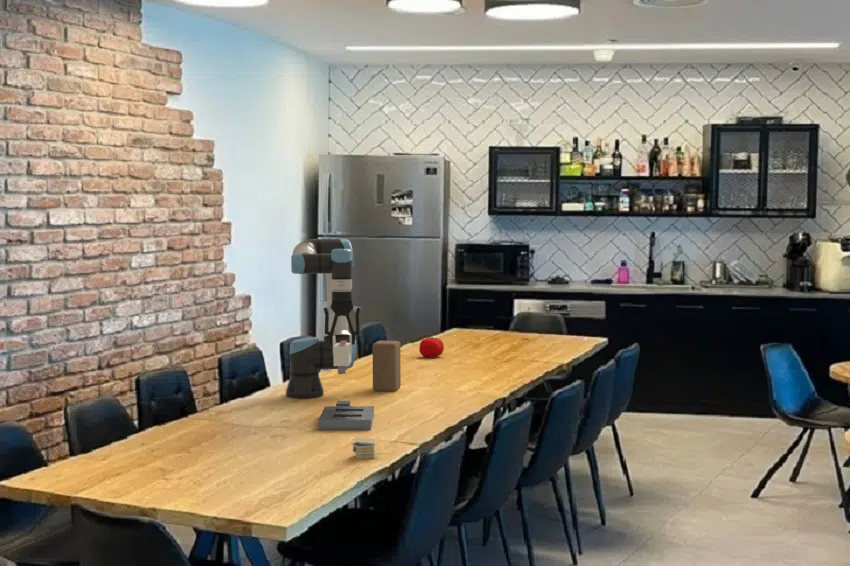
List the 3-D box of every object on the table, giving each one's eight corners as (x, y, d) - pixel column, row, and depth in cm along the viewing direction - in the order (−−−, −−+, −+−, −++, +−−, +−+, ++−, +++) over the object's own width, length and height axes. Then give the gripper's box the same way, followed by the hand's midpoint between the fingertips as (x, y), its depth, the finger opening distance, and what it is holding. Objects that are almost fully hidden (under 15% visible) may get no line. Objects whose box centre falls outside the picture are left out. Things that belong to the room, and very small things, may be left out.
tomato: (416, 356, 529) (416, 336, 528) (440, 355, 533) (440, 335, 532) (423, 359, 518) (422, 339, 517) (447, 358, 522) (447, 338, 521)
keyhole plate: (318, 430, 358) (318, 419, 358) (325, 415, 382) (324, 406, 382) (370, 429, 358) (370, 419, 358) (374, 415, 382) (374, 406, 382)
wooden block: (395, 392, 430) (395, 343, 428) (372, 391, 432) (371, 343, 430) (401, 387, 439) (400, 340, 438) (378, 387, 441) (377, 340, 440)
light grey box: (333, 374, 378) (333, 344, 378) (336, 369, 392) (336, 340, 392) (348, 374, 378) (348, 344, 378) (351, 369, 392) (351, 340, 392)
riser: (336, 412, 388) (336, 403, 388) (337, 409, 394) (337, 400, 394) (349, 412, 388) (349, 403, 388) (350, 409, 394) (350, 400, 394)
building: (379, 453, 326) (378, 436, 325) (380, 460, 317) (380, 443, 317) (347, 454, 325) (346, 437, 325) (347, 461, 316) (347, 443, 316)
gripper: (315, 291, 380) (316, 354, 381) (366, 291, 380) (367, 354, 381) (317, 290, 387) (318, 352, 389) (367, 289, 387) (368, 352, 389)
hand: (342, 353), depth 385 cm, fingers closed on light grey box, 5 cm apart
